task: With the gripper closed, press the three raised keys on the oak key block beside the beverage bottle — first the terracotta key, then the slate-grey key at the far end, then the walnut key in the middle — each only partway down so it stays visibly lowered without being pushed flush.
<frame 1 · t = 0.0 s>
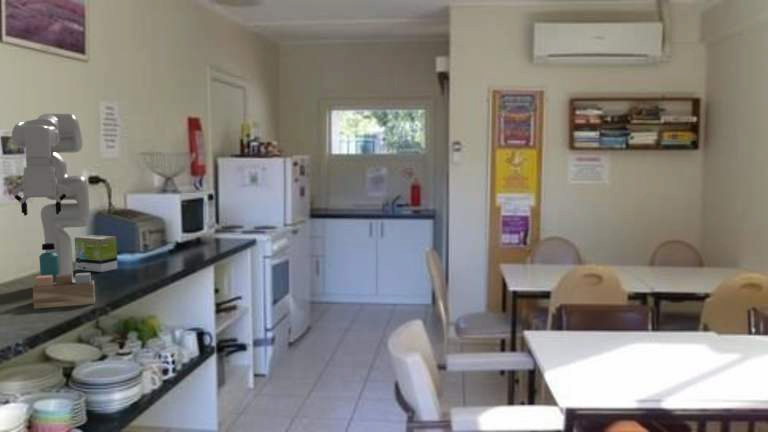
hand: (41, 214, 233), 31 cm above the table, tool pointing down, fingers open, 9 cm apart
terracotta key: (44, 283, 237), point 8 cm above the table, slide at 0.0 cm
oak key block: (65, 304, 240), on the table
walnut key: (64, 282, 239), point 8 cm above the table, slide at 0.0 cm
slate key: (83, 281, 241), point 8 cm above the table, slide at 0.0 cm
tea box: (97, 270, 310), on the table
beverage bottle: (51, 299, 248), on the table
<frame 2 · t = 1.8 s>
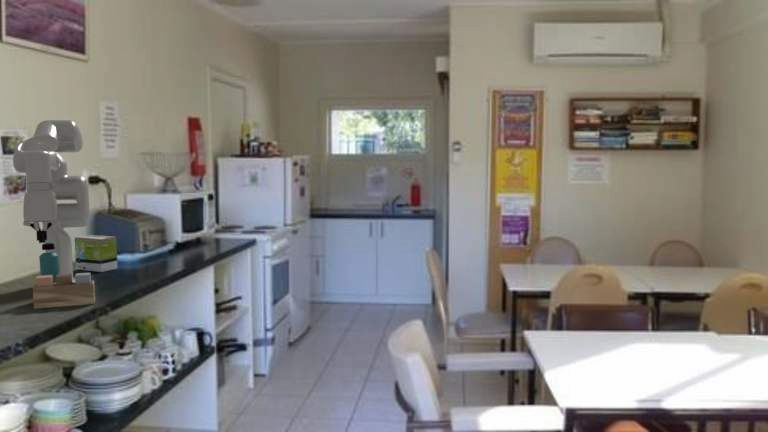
hand: (42, 242, 236), 22 cm above the table, tool pointing down, fingers closed
nothing on the table moved.
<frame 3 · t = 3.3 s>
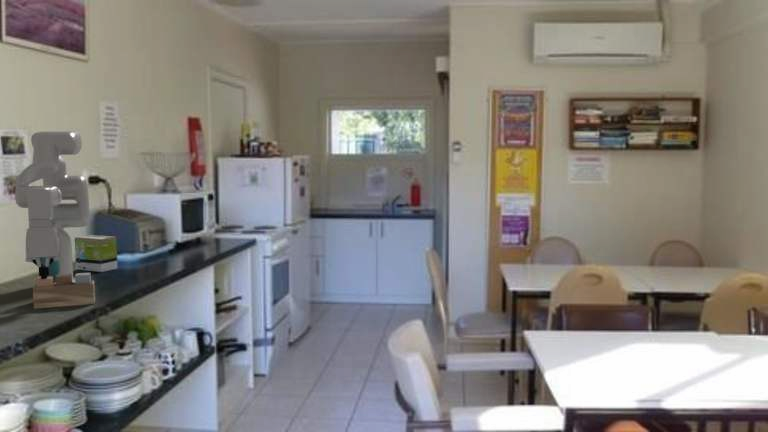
hand: (44, 278, 237), 10 cm above the table, tool pointing down, fingers closed
terracotta key: (44, 285, 238), point 7 cm above the table, slide at 0.6 cm, touching gripper
everything else where it was.
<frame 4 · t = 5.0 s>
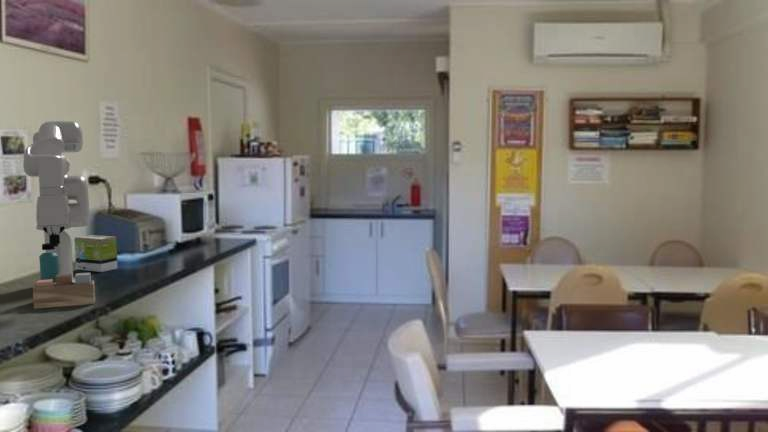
hand: (55, 246, 237), 20 cm above the table, tool pointing down, fingers closed
terracotta key: (45, 288, 238), point 6 cm above the table, slide at 1.5 cm
everything else where it was.
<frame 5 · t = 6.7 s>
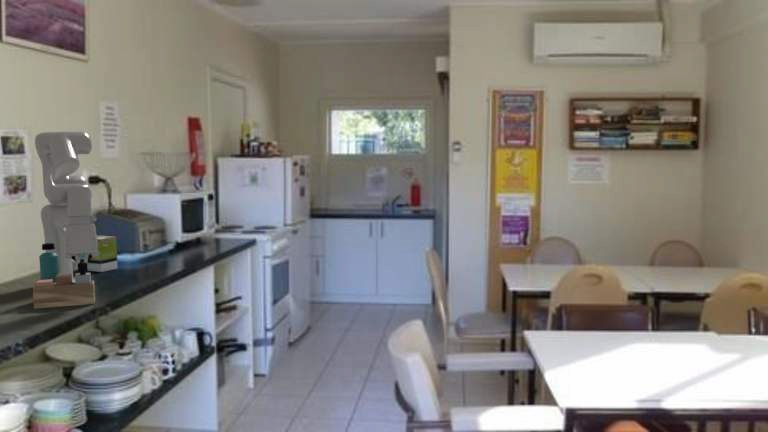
hand: (83, 274, 241), 10 cm above the table, tool pointing down, fingers closed
slate key: (83, 281, 241), point 7 cm above the table, slide at 0.0 cm, touching gripper
everything else where it was.
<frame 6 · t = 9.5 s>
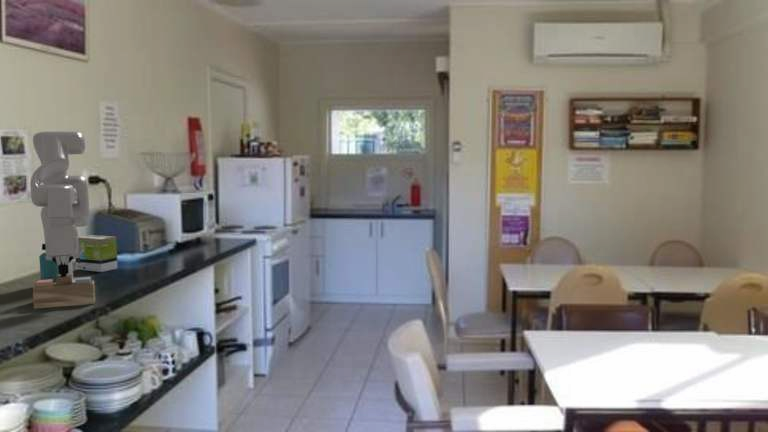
hand: (63, 275, 239), 10 cm above the table, tool pointing down, fingers closed
walnut key: (64, 283, 239), point 7 cm above the table, slide at 0.2 cm, touching gripper
slate key: (83, 285, 242), point 6 cm above the table, slide at 1.5 cm
everything else where it was.
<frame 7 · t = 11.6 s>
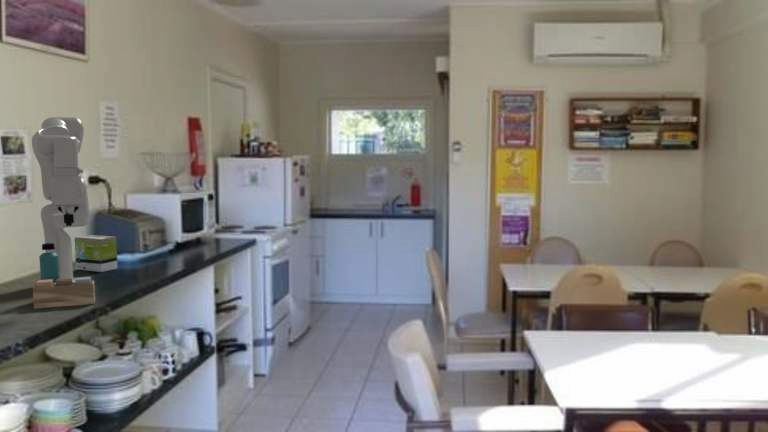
hand: (69, 225, 243), 26 cm above the table, tool pointing down, fingers closed
walnut key: (64, 286, 240), point 6 cm above the table, slide at 1.5 cm
everything else where it was.
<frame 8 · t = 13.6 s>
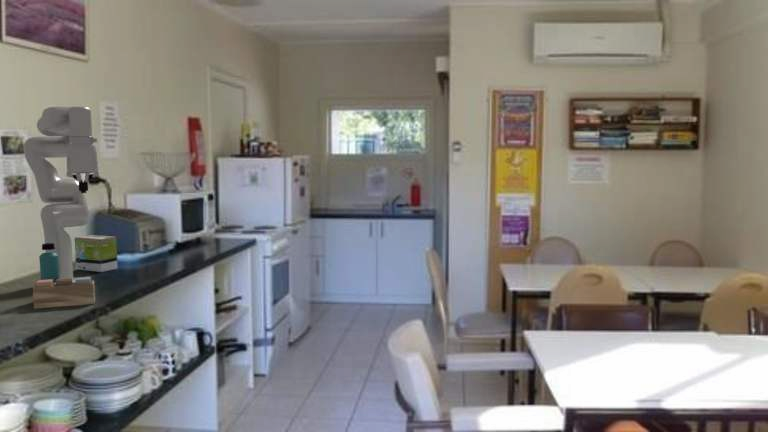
hand: (83, 192, 252), 37 cm above the table, tool pointing down, fingers closed
nothing on the table moved.
at the end: terracotta key slide at 1.5 cm; walnut key slide at 1.5 cm; slate key slide at 1.5 cm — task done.
